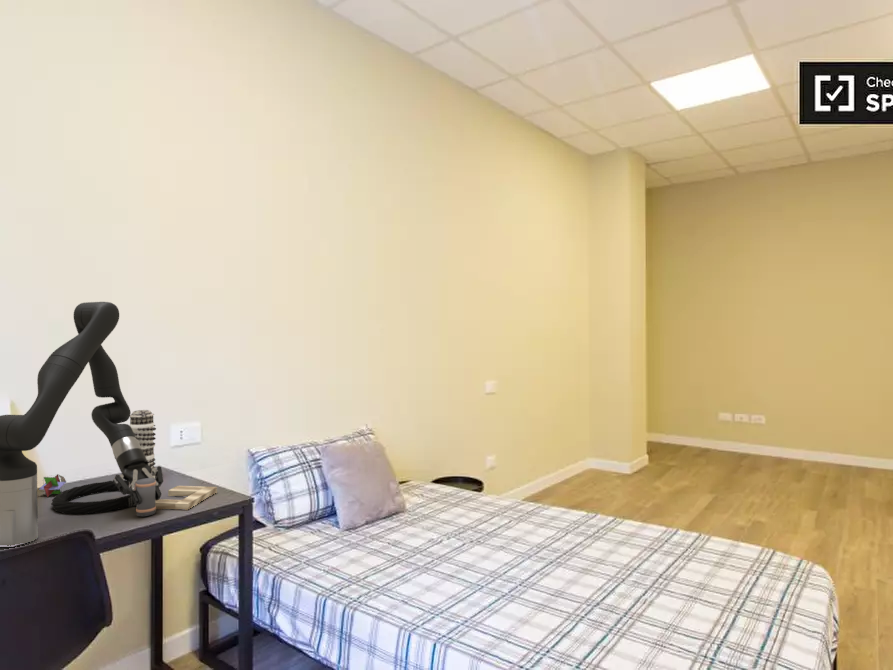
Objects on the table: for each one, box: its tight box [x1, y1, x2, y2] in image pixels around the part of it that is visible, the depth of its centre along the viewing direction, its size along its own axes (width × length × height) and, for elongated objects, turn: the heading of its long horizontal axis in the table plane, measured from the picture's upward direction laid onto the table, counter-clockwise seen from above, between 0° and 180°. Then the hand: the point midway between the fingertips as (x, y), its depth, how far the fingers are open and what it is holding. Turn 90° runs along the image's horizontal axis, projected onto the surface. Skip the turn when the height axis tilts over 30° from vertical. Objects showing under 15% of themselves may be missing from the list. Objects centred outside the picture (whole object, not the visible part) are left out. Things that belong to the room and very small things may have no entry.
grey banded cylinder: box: [135, 478, 157, 517], centre depth 169 cm, size 5×5×10 cm
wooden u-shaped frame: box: [155, 485, 218, 511], centre depth 183 cm, size 18×14×2 cm
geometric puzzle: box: [37, 473, 67, 498], centre depth 188 cm, size 7×7×8 cm
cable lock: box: [50, 479, 137, 515], centre depth 182 cm, size 28×4×30 cm
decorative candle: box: [129, 409, 157, 478], centre depth 209 cm, size 9×9×25 cm
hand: (149, 500), depth 168 cm, fingers closed on grey banded cylinder, 5 cm apart
